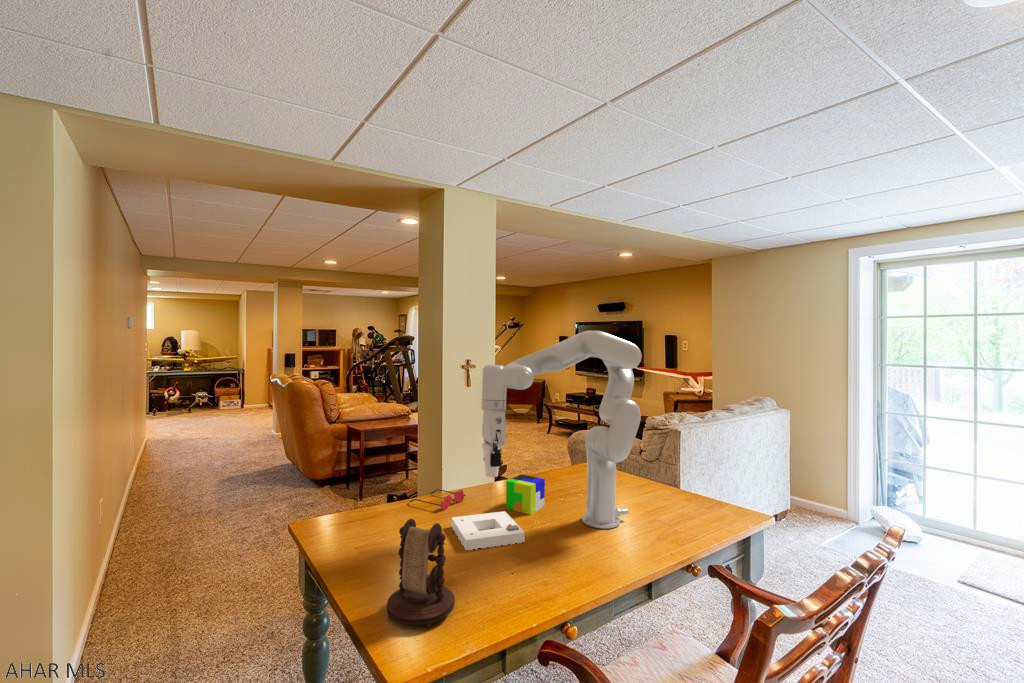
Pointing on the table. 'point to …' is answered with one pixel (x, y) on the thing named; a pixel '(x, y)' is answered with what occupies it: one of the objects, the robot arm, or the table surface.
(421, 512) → the table surface
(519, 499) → the puzzle toy
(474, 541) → the socket plate
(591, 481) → the robot arm
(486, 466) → the smoothie
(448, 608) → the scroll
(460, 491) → the glasses
